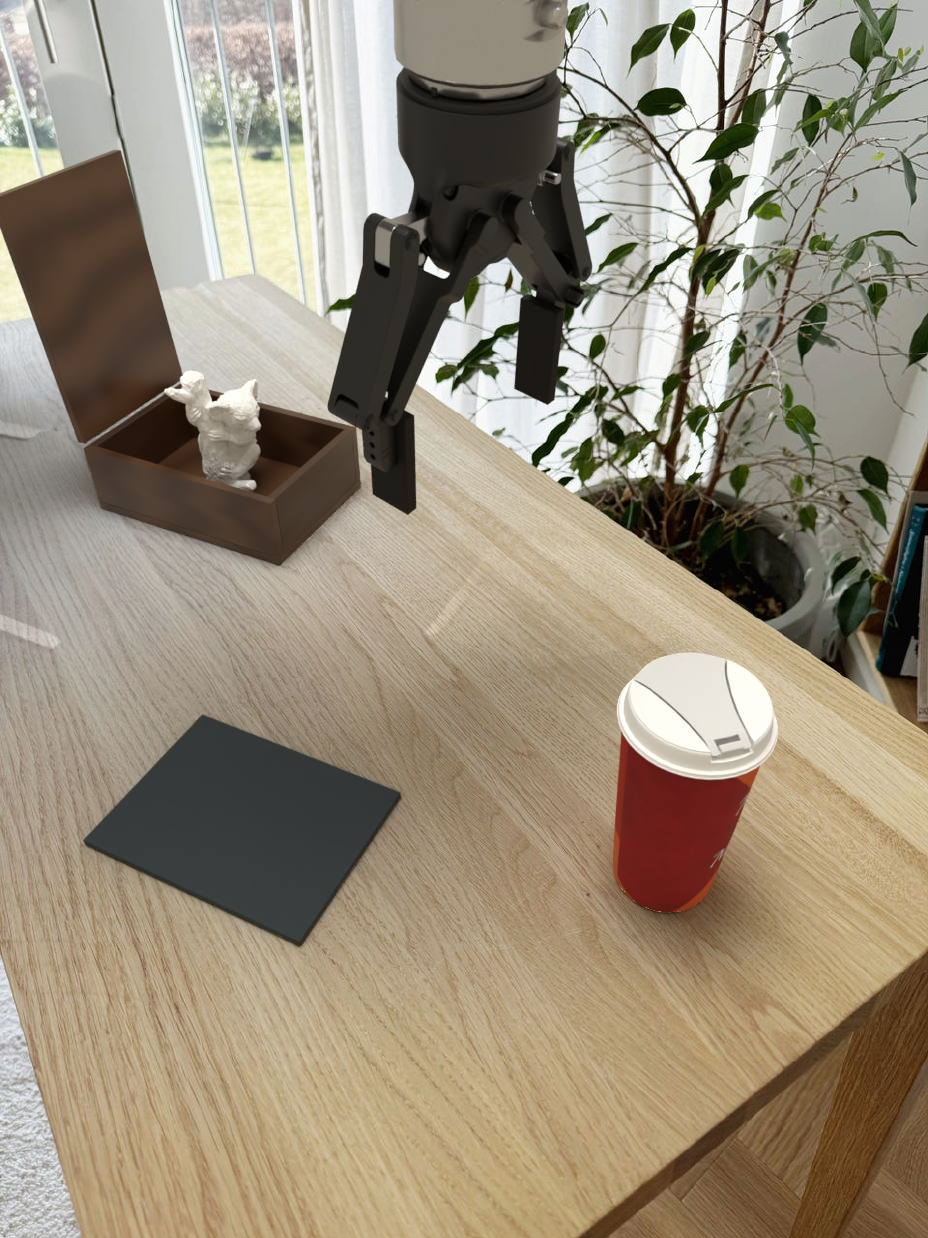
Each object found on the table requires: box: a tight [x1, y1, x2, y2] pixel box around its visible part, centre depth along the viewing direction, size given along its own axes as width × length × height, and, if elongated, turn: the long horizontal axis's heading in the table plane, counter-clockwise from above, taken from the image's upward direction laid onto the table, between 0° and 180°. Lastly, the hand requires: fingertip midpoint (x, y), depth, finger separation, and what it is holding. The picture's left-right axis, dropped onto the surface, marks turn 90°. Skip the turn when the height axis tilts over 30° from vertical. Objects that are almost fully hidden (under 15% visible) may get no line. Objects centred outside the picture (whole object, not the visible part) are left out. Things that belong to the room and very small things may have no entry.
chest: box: [82, 382, 362, 566], centre depth 88 cm, size 20×14×6 cm
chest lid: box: [0, 149, 184, 445], centre depth 83 cm, size 20×14×1 cm
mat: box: [82, 714, 402, 946], centre depth 62 cm, size 16×12×1 cm
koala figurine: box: [163, 369, 261, 492], centre depth 86 cm, size 8×7×12 cm
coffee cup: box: [612, 651, 779, 913], centre depth 54 cm, size 8×8×15 cm
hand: (468, 445), depth 59 cm, fingers open, 13 cm apart
